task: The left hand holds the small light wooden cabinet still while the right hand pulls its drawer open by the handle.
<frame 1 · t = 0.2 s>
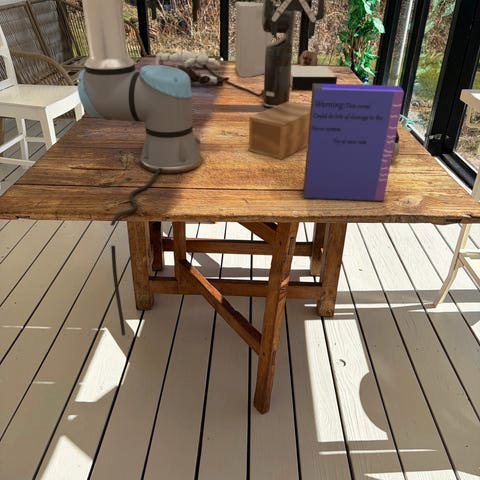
left hand: (174, 20, 152), 28 cm above the table, tool pointing down, fingers open, 13 cm apart
right hand: (292, 38, 118), 29 cm above the table, tool pointing down, fingers open, 8 cm apart
figurine character: (381, 155, 130), on the table
disc drive: (309, 83, 200), on the table
tall white box: (253, 72, 218), on the table
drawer: (294, 124, 137), point 5 cm above the table, slide at 0.8 cm
purple hardcover book: (342, 195, 108), on the table
toy: (188, 67, 225), on the table
anatomical model: (307, 70, 223), on the table
figurine: (192, 85, 195), on the table
cabinet: (283, 145, 136), on the table
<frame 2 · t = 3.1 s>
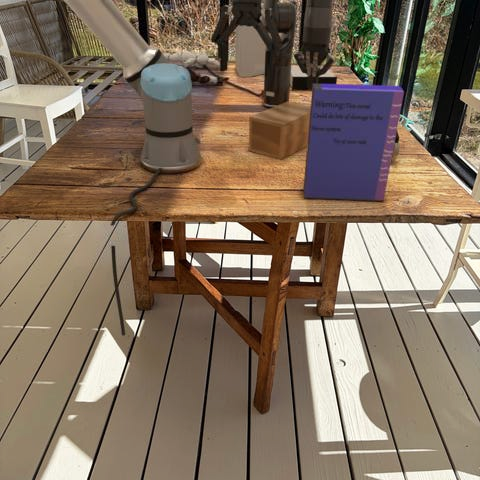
left hand: (245, 73, 130), 19 cm above the table, tool pointing down, fingers open, 13 cm apart
right hand: (311, 89, 139), 13 cm above the table, tool pointing down, fingers closed
nothing on the table moved.
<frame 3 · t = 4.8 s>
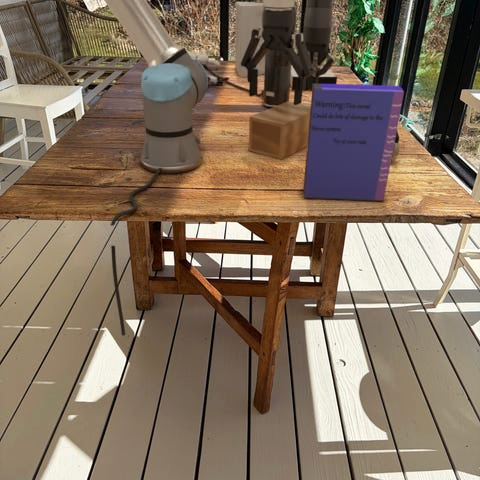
left hand: (274, 99, 124), 14 cm above the table, tool pointing down, fingers open, 13 cm apart
right hand: (311, 89, 139), 13 cm above the table, tool pointing down, fingers closed
nothing on the table moved.
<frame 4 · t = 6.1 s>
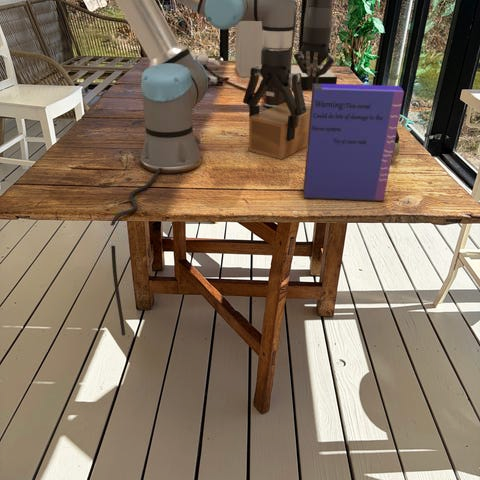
left hand: (272, 135, 129), 5 cm above the table, tool pointing down, fingers closed on cabinet, 11 cm apart
right hand: (311, 89, 139), 13 cm above the table, tool pointing down, fingers closed
cabinet: (283, 145, 136), on the table, touching left hand
everything else where it was.
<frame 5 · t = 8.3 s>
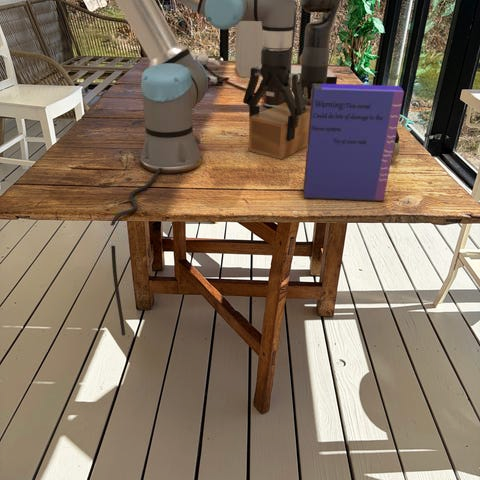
left hand: (272, 135, 129), 5 cm above the table, tool pointing down, fingers closed on cabinet, 11 cm apart
right hand: (309, 122, 144), 3 cm above the table, tool pointing down, fingers closed
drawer: (294, 124, 137), point 5 cm above the table, slide at 1.0 cm, touching right hand
cabinet: (283, 145, 136), on the table, touching left hand
everything else where it was.
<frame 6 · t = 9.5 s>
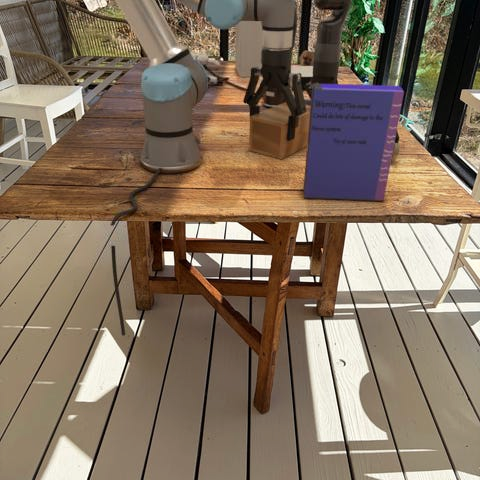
left hand: (272, 134, 129), 5 cm above the table, tool pointing down, fingers closed on cabinet, 11 cm apart
right hand: (320, 117, 149), 3 cm above the table, tool pointing down, fingers closed
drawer: (306, 118, 142), point 5 cm above the table, slide at 7.9 cm, touching right hand
cabinet: (284, 145, 136), on the table, touching left hand
everything else where it was.
when the left hand's fingers open (5 cm above the table, at t = 11.2 s): cabinet stays where it is, on the table.
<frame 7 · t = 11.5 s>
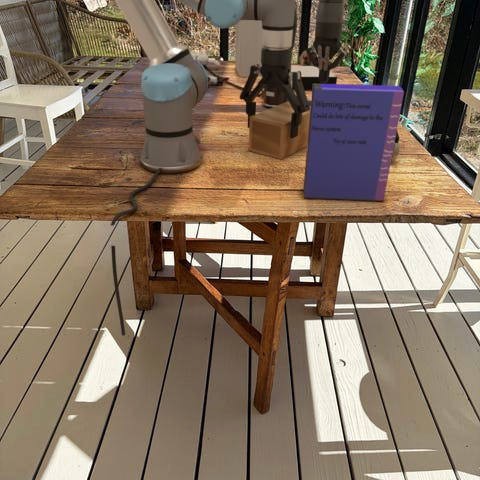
left hand: (272, 131, 128), 6 cm above the table, tool pointing down, fingers open, 13 cm apart
right hand: (323, 82, 143), 14 cm above the table, tool pointing down, fingers closed
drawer: (306, 118, 142), point 5 cm above the table, slide at 8.0 cm
cabinet: (283, 145, 136), on the table
everything else where it was.
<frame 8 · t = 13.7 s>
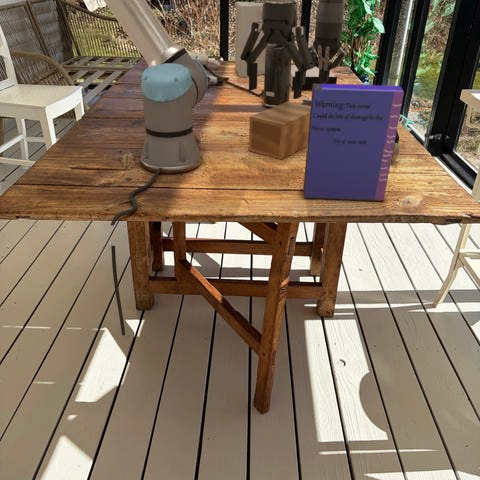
left hand: (274, 93, 123), 16 cm above the table, tool pointing down, fingers open, 13 cm apart
right hand: (323, 82, 143), 14 cm above the table, tool pointing down, fingers closed
nothing on the table moved.
at the end: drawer slide at 8.0 cm; cabinet tilted 0°; cabinet never tilted more than 1° during the clip; cabinet moved 0.1 cm from its start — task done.
